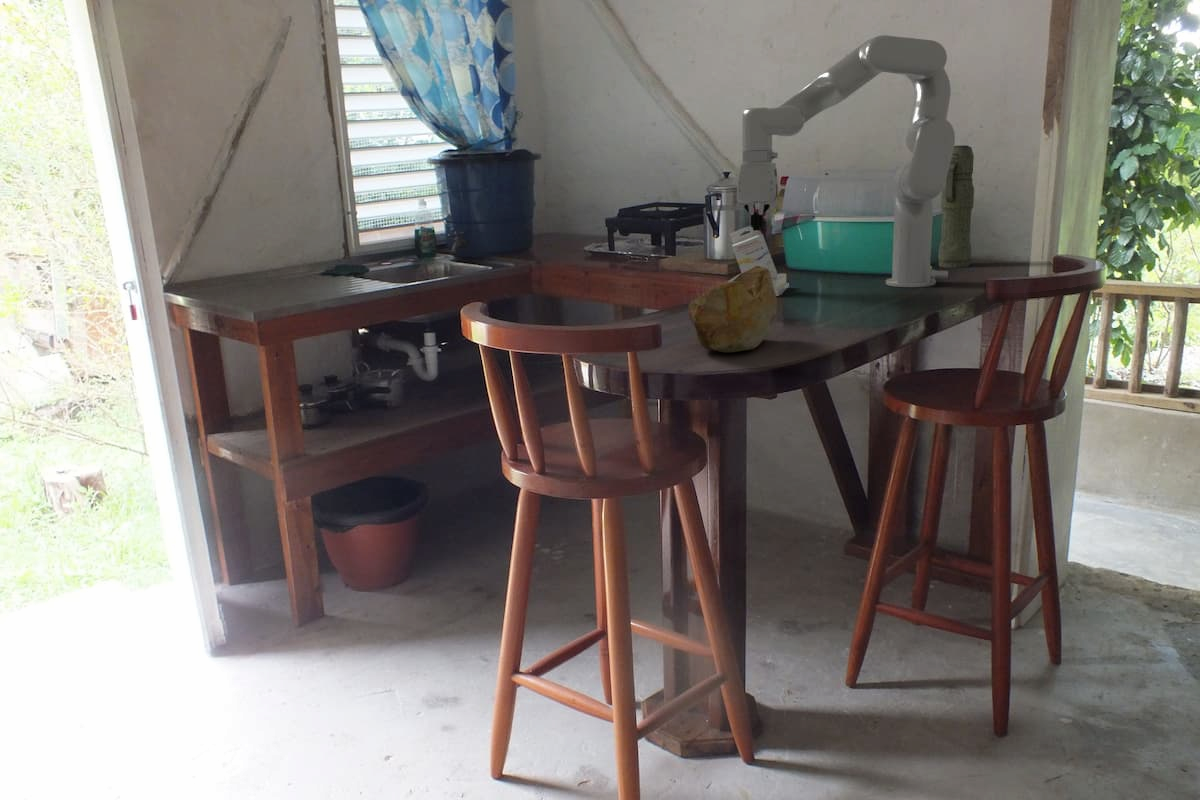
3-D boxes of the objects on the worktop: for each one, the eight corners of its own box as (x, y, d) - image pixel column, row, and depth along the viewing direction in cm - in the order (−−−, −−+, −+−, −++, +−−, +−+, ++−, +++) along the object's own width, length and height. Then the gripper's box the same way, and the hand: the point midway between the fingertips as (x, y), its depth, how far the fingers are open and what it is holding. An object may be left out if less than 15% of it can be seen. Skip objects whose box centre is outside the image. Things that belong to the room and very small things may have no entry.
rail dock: (788, 288, 261) (789, 273, 260) (778, 297, 247) (778, 281, 246) (738, 287, 266) (737, 273, 265) (725, 296, 252) (724, 281, 251)
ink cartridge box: (747, 288, 254) (726, 236, 252) (747, 285, 259) (727, 234, 257) (777, 276, 252) (757, 223, 250) (778, 273, 257) (758, 221, 254)
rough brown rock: (713, 332, 207) (712, 262, 203) (787, 337, 198) (787, 264, 194) (662, 353, 188) (660, 277, 184) (741, 360, 179) (741, 280, 175)
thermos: (932, 270, 282) (937, 146, 273) (944, 265, 291) (950, 145, 282) (963, 271, 277) (970, 145, 268) (974, 266, 286) (981, 144, 277)
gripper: (789, 156, 248) (788, 228, 253) (732, 158, 254) (732, 229, 258) (783, 157, 242) (783, 231, 246) (725, 159, 247) (725, 231, 252)
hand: (757, 229), depth 252 cm, fingers closed
